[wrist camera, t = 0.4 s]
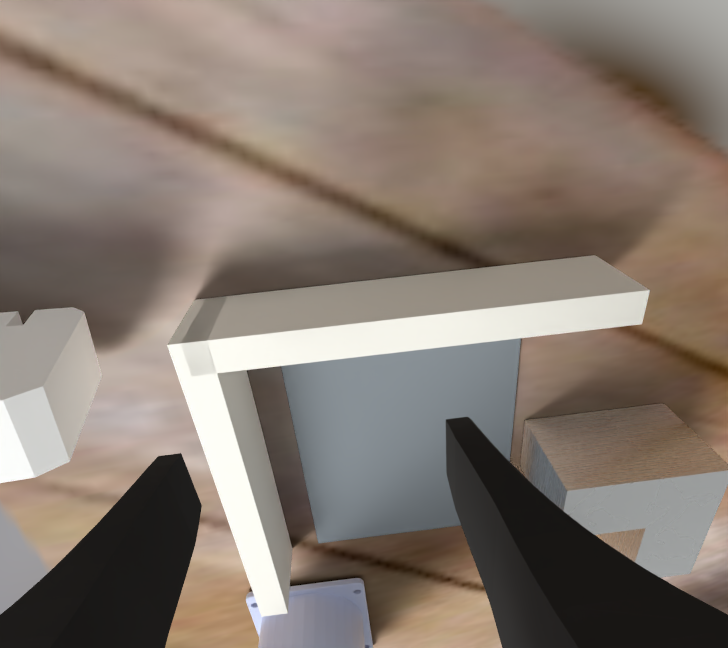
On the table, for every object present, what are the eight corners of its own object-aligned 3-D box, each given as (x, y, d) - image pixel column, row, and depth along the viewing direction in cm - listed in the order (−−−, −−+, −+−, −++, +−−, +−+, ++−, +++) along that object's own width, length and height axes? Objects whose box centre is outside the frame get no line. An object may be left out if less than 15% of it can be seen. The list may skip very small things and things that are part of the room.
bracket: (635, 500, 29) (690, 573, 25) (514, 515, 29) (548, 592, 25) (663, 402, 26) (734, 469, 21) (524, 420, 25) (567, 491, 21)
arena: (551, 516, 29) (582, 575, 26) (269, 551, 29) (261, 616, 25) (595, 255, 21) (650, 290, 17) (194, 299, 20) (167, 345, 17)
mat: (503, 517, 29) (504, 519, 29) (318, 540, 29) (318, 543, 29) (520, 328, 22) (521, 330, 22) (279, 356, 22) (279, 358, 22)
